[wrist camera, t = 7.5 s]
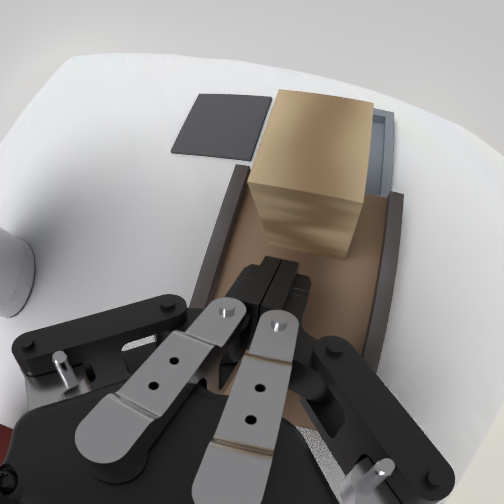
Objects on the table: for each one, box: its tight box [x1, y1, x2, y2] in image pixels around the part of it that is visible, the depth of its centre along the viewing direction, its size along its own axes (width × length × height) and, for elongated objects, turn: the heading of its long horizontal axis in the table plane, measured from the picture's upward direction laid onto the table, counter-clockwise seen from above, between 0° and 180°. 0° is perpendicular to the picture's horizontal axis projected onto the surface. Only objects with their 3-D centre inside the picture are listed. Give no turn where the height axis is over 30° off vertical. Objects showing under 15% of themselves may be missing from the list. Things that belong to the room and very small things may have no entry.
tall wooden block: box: [247, 89, 373, 261], centre depth 17 cm, size 5×6×8 cm
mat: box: [171, 94, 272, 161], centre depth 29 cm, size 8×8×1 cm
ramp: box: [189, 164, 404, 430], centre depth 21 cm, size 12×16×4 cm
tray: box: [365, 108, 394, 198], centre depth 25 cm, size 11×10×2 cm
